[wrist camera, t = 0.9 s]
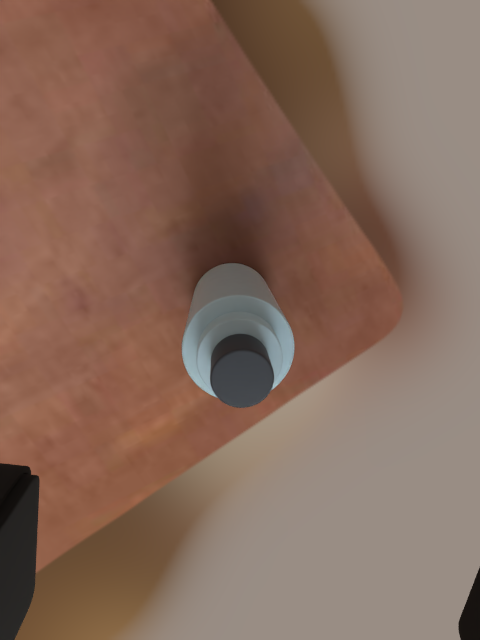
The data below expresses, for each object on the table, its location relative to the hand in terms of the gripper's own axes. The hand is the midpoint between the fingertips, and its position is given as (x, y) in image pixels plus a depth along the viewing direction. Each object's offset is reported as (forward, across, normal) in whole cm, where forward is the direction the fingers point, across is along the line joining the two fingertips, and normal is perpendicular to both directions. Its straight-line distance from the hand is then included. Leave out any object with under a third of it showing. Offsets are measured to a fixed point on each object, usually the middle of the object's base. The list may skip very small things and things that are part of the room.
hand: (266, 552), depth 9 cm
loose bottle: (+20, 0, 0) cm, 20 cm away
